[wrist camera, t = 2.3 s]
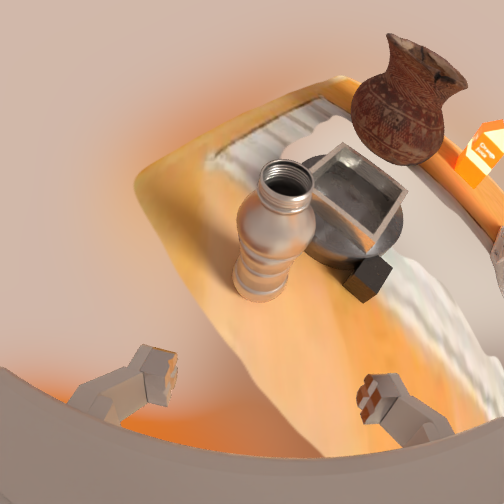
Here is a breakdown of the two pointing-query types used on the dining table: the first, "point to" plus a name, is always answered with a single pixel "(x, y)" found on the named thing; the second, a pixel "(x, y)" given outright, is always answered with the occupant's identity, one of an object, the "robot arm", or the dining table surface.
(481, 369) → the dining table surface
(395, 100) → the jug
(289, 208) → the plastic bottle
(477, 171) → the orange juice
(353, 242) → the disc with square tube
